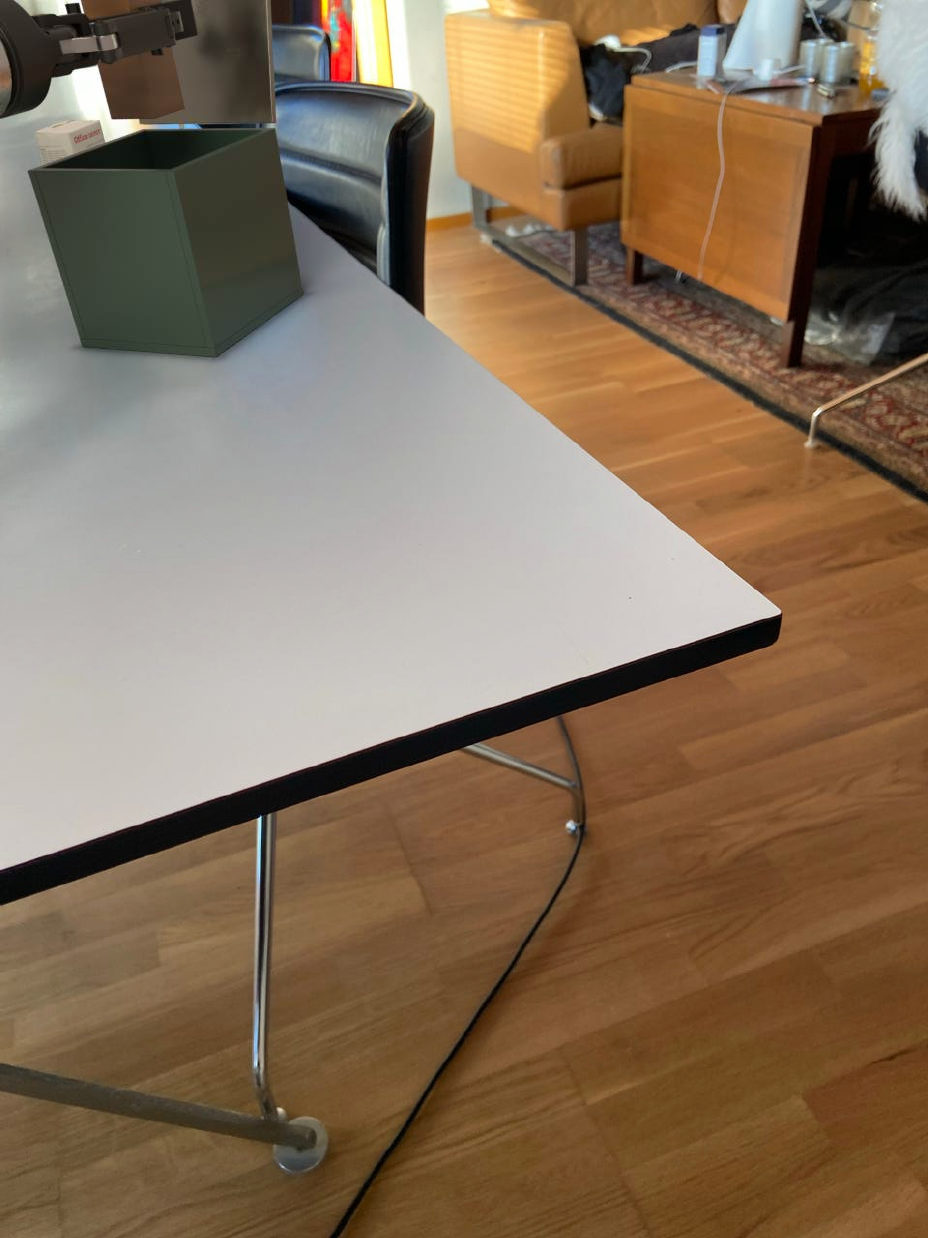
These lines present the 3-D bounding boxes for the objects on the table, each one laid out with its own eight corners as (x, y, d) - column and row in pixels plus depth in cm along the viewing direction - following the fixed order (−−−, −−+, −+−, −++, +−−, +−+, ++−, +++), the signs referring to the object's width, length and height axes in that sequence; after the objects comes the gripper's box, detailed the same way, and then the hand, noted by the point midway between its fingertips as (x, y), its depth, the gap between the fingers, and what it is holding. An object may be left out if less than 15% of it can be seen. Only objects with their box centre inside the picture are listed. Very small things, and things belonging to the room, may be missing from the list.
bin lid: (261, -110, 83) (265, -108, 83) (118, -96, 87) (123, -94, 88) (272, 122, 89) (276, 123, 90) (139, 123, 94) (143, 124, 95)
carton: (111, 119, 83) (71, -36, 77) (142, 109, 87) (106, -40, 80) (155, 118, 82) (118, -40, 76) (185, 108, 85) (152, -44, 79)
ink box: (96, 232, 125) (67, 131, 118) (61, 233, 125) (30, 132, 118) (126, 214, 131) (101, 116, 124) (93, 215, 132) (65, 118, 125)
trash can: (216, 357, 87) (173, 171, 78) (82, 346, 91) (26, 170, 82) (303, 294, 99) (275, 127, 90) (181, 287, 104) (142, 128, 95)
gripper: (-103, 122, 72) (94, 70, 90) (91, 118, 67) (262, 64, 84) (-148, 2, 68) (69, -28, 85) (56, -12, 62) (244, -41, 80)
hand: (164, 18), depth 85 cm, fingers closed on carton, 4 cm apart
